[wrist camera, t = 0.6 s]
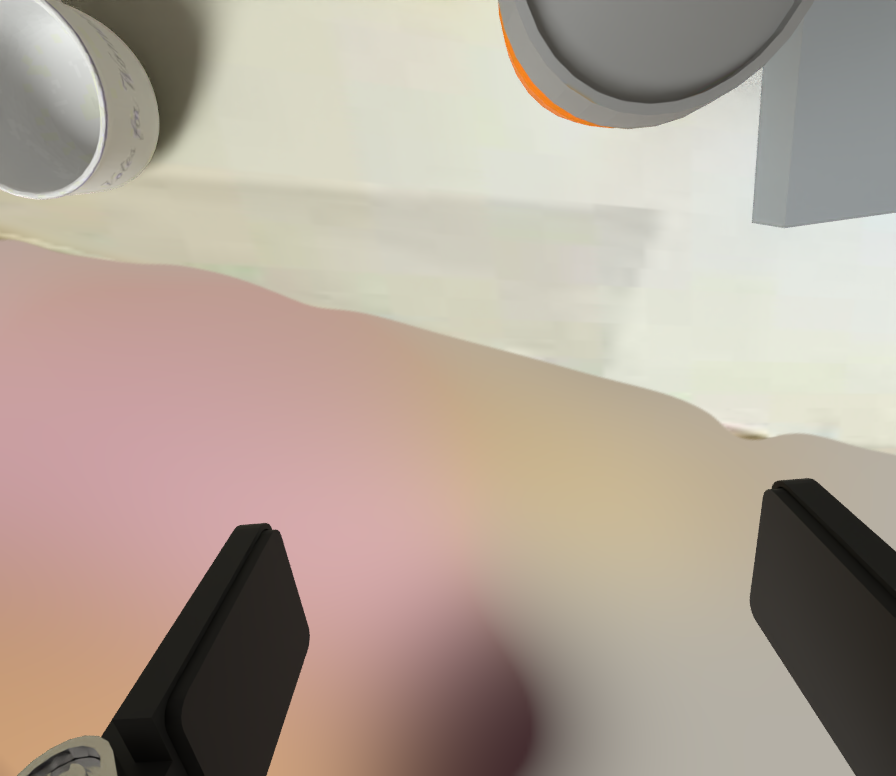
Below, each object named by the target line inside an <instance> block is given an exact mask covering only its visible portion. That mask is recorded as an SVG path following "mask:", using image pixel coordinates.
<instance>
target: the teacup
mask: <svg viewBox="0 0 896 776" xmlns="http://www.w3.org/2000/svg"><path fill="white" fill-rule="evenodd" d="M158 135H159V113H158V105H157V101H156V97H155V93H154V90H153V87H152V85H151V82H150V80H149V78H148V76H147V74H146V72H145V70H144V68H143V66H142V65H141V63H140V62H139V60H138V59H137V57H136V56H135V55H134V53H133V52H132V51H131V50H130V48H129V47H128V46H127V45H126V44H125V43H124V42H123V41H122V40H121V39H120V38H119V37H118V36H117V35H116V34H115V33H114V32H113V31H111V30H110V29H109V28H107V27H106V26H105V25H104V24H102V23H101V22H99V21H97V20H96V19H94V18H93V17H91V16H89V15H87V14H85V13H84V12H82V11H80V10H78V9H76V8H73V7H71V6H69V5H66V4H64V3H63V2H62V1H61V0H0V190H2V191H5V192H8V193H11V194H13V195H16V196H20V197H25V198H30V199H53V198H59V197H63V196H66V195H78V194H88V193H96V192H102V191H107V190H111V189H114V188H118V187H120V186H122V185H124V184H126V183H128V182H130V181H131V180H133V179H135V178H136V177H137V176H138V175H139V174H140V173H141V172H142V171H143V170H144V169H145V167H146V166H147V165H148V163H149V162H150V160H151V158H152V156H153V154H154V151H155V148H156V145H157V141H158Z"/></svg>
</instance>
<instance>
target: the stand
mask: <svg viewBox="0 0 896 776" xmlns="http://www.w3.org/2000/svg"><path fill="white" fill-rule="evenodd" d="M889 213H896V0H814V2H813V4H812V6H811V7H810V9H809V10H808V12H807V13H806V15H805V16H804V18H803V19H802V21H801V22H800V24H799V25H798V27H797V28H796V30H795V31H794V33H793V34H792V36H791V37H790V38H789V39H788V40H787V41H786V43H785V44H784V45H783V46H782V47H781V48H780V49H779V50H778V51H777V52H776V53H775V55H774V56H773V57H772V58H771V59H770V60H769V61H768V62H767V63H766V64H765V65H764V66H763V77H762V91H761V105H760V119H759V133H758V147H757V161H756V175H755V189H754V203H753V217H752V223H757V224H763V225H769V226H775V227H781V228H788V227H795V226H802V225H810V224H817V223H824V222H831V221H838V220H845V219H853V218H860V217H867V216H874V215H881V214H889Z"/></svg>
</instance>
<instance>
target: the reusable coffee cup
mask: <svg viewBox="0 0 896 776" xmlns="http://www.w3.org/2000/svg"><path fill="white" fill-rule="evenodd" d="M813 2H814V0H498V3H499V16H500V21H501V26H502V30H503V35H504V39H505V43H506V47H507V51H508V55H509V58H510V60H511V63H512V65H513V67H514V70H515V72H516V74H517V76H518V78H519V79H520V81H521V82H522V84H523V85H524V87H525V88H526V90H527V91H528V93H529V94H530V95H531V96H532V97H533V98H534V99H535V100H536V101H537V102H538V103H539V104H540V105H541V106H543V107H544V108H546V109H547V110H549V111H551V112H552V113H554V114H555V115H557V116H559V117H562V118H565V119H568V120H571V121H573V122H577V123H580V124H584V125H588V126H597V127H606V128H623V129H633V128H643V127H652V126H658V125H661V124H664V123H667V122H670V121H673V120H676V119H680V118H683V117H685V116H687V115H688V114H690V113H692V112H694V111H696V110H698V109H700V108H701V107H703V106H705V105H707V104H709V103H711V102H712V101H714V100H716V99H717V98H719V97H721V96H722V95H724V94H726V93H728V92H729V91H731V90H733V89H734V88H736V87H738V86H739V85H740V84H741V83H743V82H744V81H745V80H747V79H748V78H749V77H750V76H752V75H753V74H754V73H755V72H757V71H758V70H759V69H760V68H762V67H763V66H764V65H765V64H766V63H767V62H768V61H769V60H770V59H771V58H772V57H773V56H774V55H775V53H776V52H777V51H778V50H779V49H780V48H781V47H782V46H783V45H784V44H785V43H786V41H787V40H788V39H789V38H790V37H791V36H792V34H793V33H794V31H795V30H796V28H797V27H798V25H799V24H800V22H801V21H802V19H803V18H804V16H805V15H806V13H807V12H808V10H809V9H810V7H811V6H812V4H813Z"/></svg>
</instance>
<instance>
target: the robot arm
mask: <svg viewBox="0 0 896 776" xmlns="http://www.w3.org/2000/svg"><path fill="white" fill-rule="evenodd" d="M750 606H751V610H752V614H753V616H754V618H755V620H756V622H757V623H758V625H759V626H760V628H761V629H762V631H763V632H764V634H765V636H766V637H767V639H768V640H769V642H770V643H771V645H772V647H773V648H774V649H775V651H776V653H777V654H778V656H779V657H780V659H781V660H782V662H783V664H784V665H785V667H786V668H787V670H788V671H789V673H790V674H791V676H792V677H793V679H794V680H795V682H796V684H797V685H798V687H799V688H800V690H801V691H802V693H803V695H804V696H805V698H806V699H807V701H808V702H809V704H810V705H811V707H812V708H813V710H814V712H815V713H816V715H817V716H818V718H819V719H820V721H821V722H822V724H823V725H824V727H825V729H826V730H827V732H828V733H829V735H830V736H831V738H832V739H833V741H834V743H835V744H836V745H837V747H838V749H839V750H840V752H841V753H842V755H843V756H844V758H845V760H846V761H847V763H848V764H849V766H850V767H851V769H852V770H853V772H854V774H855V775H856V776H896V551H894V550H893V549H892V548H891V547H890V546H889V545H888V544H887V543H885V542H884V541H883V540H882V539H881V538H880V537H879V536H878V535H876V534H875V533H874V532H873V531H872V530H871V529H869V528H868V527H867V526H866V525H865V524H864V523H863V522H862V521H861V520H859V519H858V518H857V517H856V516H855V515H854V514H852V512H850V511H849V510H848V509H847V508H846V507H845V506H844V505H842V504H841V503H840V502H839V501H838V500H837V499H836V498H835V497H833V496H832V495H831V494H830V493H829V492H828V491H827V490H826V489H824V488H823V487H822V486H821V485H820V484H819V483H818V482H816V481H815V480H813V479H809V478H805V479H795V480H794V479H793V480H781V481H777V482H775V483H774V484H773V486H772V489H768V490H766V491H765V492H764V495H763V501H762V509H761V516H760V524H759V533H758V539H757V547H756V555H755V562H754V570H753V578H752V585H751V593H750ZM309 638H310V634H309V627H308V624H307V621H306V617H305V614H304V611H303V607H302V604H301V600H300V597H299V594H298V590H297V587H296V584H295V580H294V577H293V573H292V570H291V567H290V564H289V560H288V557H287V553H286V550H285V547H284V543H283V540H282V537H281V534H280V532H279V531H278V530H272V528H271V526H270V525H269V524H267V523H261V524H249V525H240V526H237V527H236V528H235V529H234V531H233V532H232V534H231V535H230V537H229V539H228V540H227V542H226V543H225V545H224V546H223V548H222V549H221V551H220V553H219V554H218V556H217V557H216V559H215V560H214V562H213V564H212V565H211V567H210V568H209V570H208V571H207V573H206V574H205V576H204V578H203V579H202V581H201V582H200V584H199V585H198V587H197V588H196V590H195V592H194V593H193V595H192V596H191V598H190V599H189V601H188V602H187V604H186V606H185V607H184V609H183V610H182V612H181V614H180V615H179V616H178V618H177V619H176V621H175V623H174V624H173V626H172V627H171V629H170V630H169V632H168V633H167V635H166V637H165V638H164V640H163V641H162V643H161V644H160V646H159V647H158V649H157V651H156V652H155V654H154V655H153V657H152V658H151V660H150V661H149V663H148V665H147V666H146V668H145V669H144V671H143V672H142V674H141V675H140V677H139V679H138V680H137V682H136V683H135V685H134V686H133V688H132V689H131V691H130V692H129V694H128V696H127V697H126V699H125V701H124V702H123V703H122V705H121V707H120V708H119V710H118V711H117V713H116V714H115V716H114V718H113V719H112V721H111V722H110V724H109V725H108V727H107V729H106V730H105V732H104V733H103V735H102V737H99V736H82V737H78V738H74V739H70V740H67V741H65V742H63V743H61V744H59V745H57V746H55V747H53V748H51V749H49V750H48V751H46V752H45V753H44V754H42V755H41V756H39V757H38V758H36V759H35V760H33V761H32V762H31V763H30V764H29V765H28V766H27V767H26V768H25V769H24V770H23V771H21V772H20V773H19V774H18V775H17V776H266V775H267V772H268V769H269V766H270V763H271V760H272V757H273V754H274V751H275V747H276V745H277V742H278V739H279V735H280V732H281V729H282V726H283V723H284V720H285V717H286V714H287V711H288V708H289V705H290V702H291V699H292V696H293V693H294V690H295V687H296V683H297V680H298V678H299V675H300V672H301V668H302V665H303V662H304V659H305V656H306V653H307V650H308V646H309Z"/></svg>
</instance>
